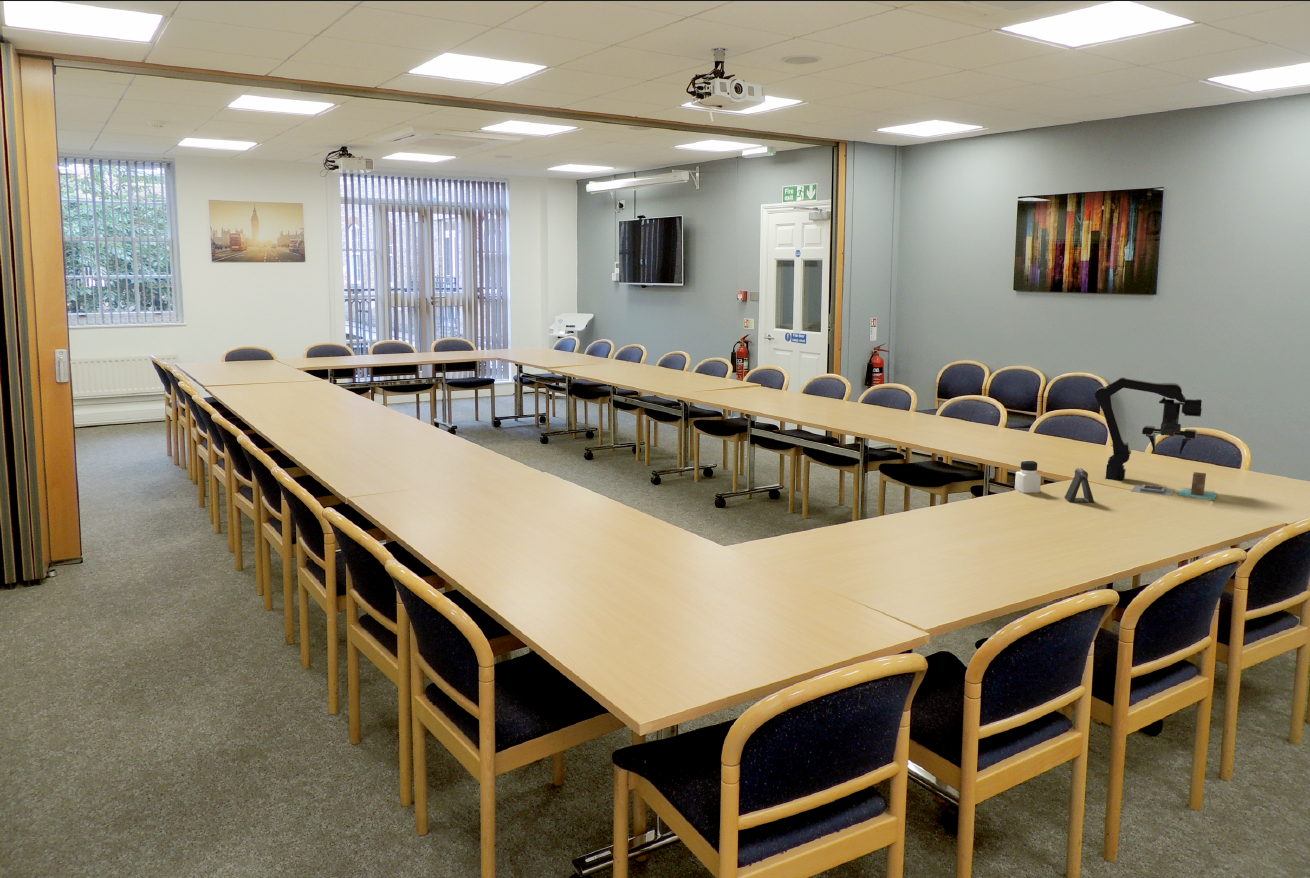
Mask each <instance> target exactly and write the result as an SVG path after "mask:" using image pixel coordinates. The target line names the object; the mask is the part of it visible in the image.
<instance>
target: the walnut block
mask: <svg viewBox="0 0 1310 878" xmlns="http://www.w3.org/2000/svg"><path fill="white" fill-rule="evenodd" d="M1206 477H1207V473H1206V472H1197V471H1196V472H1195V471H1194V472H1193V474H1192V482H1191V489H1190V490H1191V494H1193V495H1202V496H1203V494H1204V491H1205V486H1206Z"/></svg>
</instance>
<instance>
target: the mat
mask: <svg viewBox="0 0 1310 878" xmlns="http://www.w3.org/2000/svg"><path fill="white" fill-rule="evenodd" d="M1217 495H1218V492H1214V491H1213V492H1212V491H1205V490H1204V494H1203V496H1202V495H1193V494H1191V489H1189V488H1181V489H1180V491H1179V492H1178V494H1177V496H1179V497H1189V498H1194V499H1195V498H1197V499H1204V500H1210V501H1211V502H1215V501H1216V498H1217Z"/></svg>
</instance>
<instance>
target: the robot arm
mask: <svg viewBox="0 0 1310 878" xmlns="http://www.w3.org/2000/svg"><path fill="white" fill-rule="evenodd" d="M1122 389H1128V390H1136V391H1141V392H1147V393H1152V394H1153V393H1154V394H1157V395H1159V396H1162V398H1161V399H1160V400H1159V401H1158V404H1162V405H1163V411H1162V419H1161V421H1162V422H1161V424H1160V428H1156V426H1154V425H1153V426H1152V425H1145V426H1143V428H1142V431H1141V434H1142V435H1145V437H1147V438H1148V439H1149V440H1150V444H1151V447H1152V451H1153V452H1154V453H1155V452H1156V447H1157V446H1156V434H1159V435H1161V436H1169V437H1173V436H1183V438H1182V441H1181V446H1180V449H1179V455H1180V456H1181V455H1182V453H1183V451H1184V450H1185V449H1184V448H1185V447H1186V445H1187V442H1188V441H1192V440H1193V439H1194V440H1195V439H1197V433H1198V431H1197V430H1196V429H1189V428H1186V429H1184V430H1182V424H1181V423H1180V422H1179V421H1180V420H1179V419H1180V410H1181V414H1183V415H1184V417H1198V418H1200V417H1202V416H1201V415H1202V409H1203V408H1202V399H1201V398H1199V399H1197V398H1196V399H1192V398H1191V399H1189V398H1186V396H1185V395H1184V394H1183V393H1182V392H1183V391H1182V390H1183V389H1182V387H1181V385H1180V384H1178V383H1176V382H1161V383H1158V382H1150V381H1144V380H1138V379H1132V378H1127V377H1120V378H1118V379H1117V380H1116V381H1113V382H1112V383H1110V384H1108V385H1106V386H1101V387H1098V388H1097V389H1096V391H1095V393H1094V398H1095V400H1096V401H1097V404H1098V405H1099V407H1100V409H1101V410H1102V412H1103V415H1104V418H1105V422H1106V425H1107V428H1108V432H1109V434H1110V435H1109V436H1110V438H1111V442H1112V451H1113V452H1112V453H1113V454H1112V455H1110V456H1109V457H1108V460H1107V464H1106V468H1105V469H1106V470H1105V477H1104V479H1105V480H1112V481H1121V482H1122V481H1123V480H1125V479H1126V471H1127V470H1126V468H1125V463H1127V462H1129V460H1130V456H1131V454H1132V450H1131V448H1130V444H1129V442H1125V441H1124V439H1123V437H1122V435H1121V431H1120V427H1119V423H1118V420H1117V418H1116V414H1115V412H1114V411H1115V410H1114V408H1113V395H1114V394H1115V393H1117V392H1119V391H1120V390H1122ZM1175 400H1176V401H1175ZM1180 408H1181V409H1180Z"/></svg>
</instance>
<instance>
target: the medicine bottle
mask: <svg viewBox="0 0 1310 878" xmlns="http://www.w3.org/2000/svg"><path fill="white" fill-rule="evenodd" d="M1041 480H1042V475H1041V474H1040V473H1038V462H1036V461H1035V460H1029V459H1028V460H1023V461H1021V462H1020V470H1019V471H1015V480H1014V481H1015V482H1014V489H1015V490H1016V491H1018V492H1020V491H1021V492H1020V493H1022V494H1031V493H1032V494H1033V493H1035V494H1036V493H1041V484H1042V481H1041Z"/></svg>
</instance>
